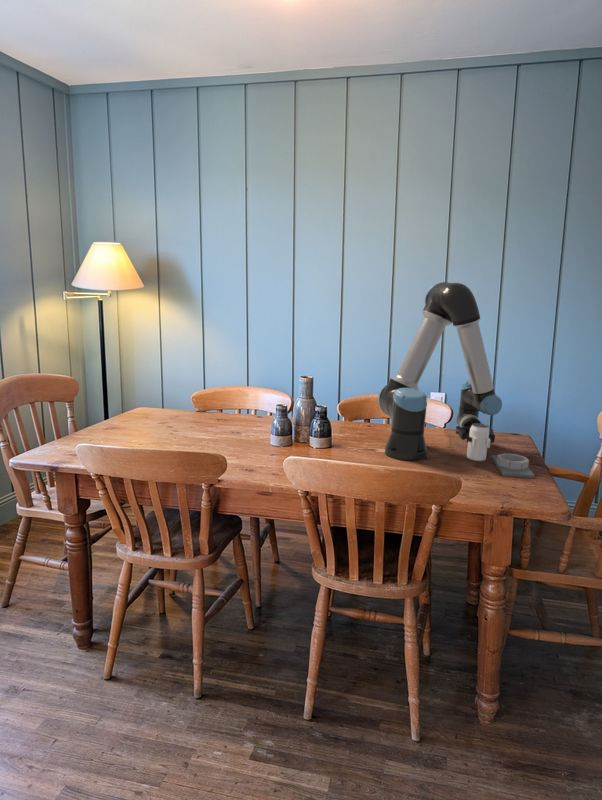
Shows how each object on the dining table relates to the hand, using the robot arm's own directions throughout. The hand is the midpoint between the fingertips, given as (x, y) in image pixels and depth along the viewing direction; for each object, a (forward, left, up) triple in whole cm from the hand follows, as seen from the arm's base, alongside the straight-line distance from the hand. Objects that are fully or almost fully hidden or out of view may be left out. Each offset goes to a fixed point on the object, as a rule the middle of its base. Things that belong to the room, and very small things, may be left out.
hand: (482, 443), depth 198 cm
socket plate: (+12, +5, -9) cm, 16 cm away
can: (0, +5, -7) cm, 9 cm away
